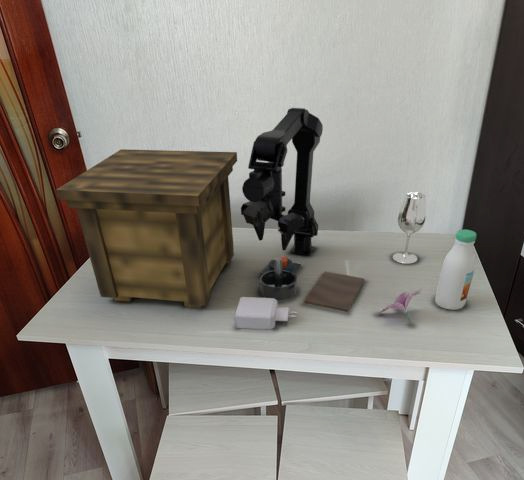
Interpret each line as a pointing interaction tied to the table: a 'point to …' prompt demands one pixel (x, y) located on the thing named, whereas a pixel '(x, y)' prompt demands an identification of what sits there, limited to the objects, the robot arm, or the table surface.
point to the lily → (401, 302)
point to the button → (284, 261)
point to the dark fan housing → (278, 292)
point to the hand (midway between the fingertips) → (272, 244)
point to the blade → (278, 272)
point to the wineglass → (411, 222)
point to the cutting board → (335, 291)
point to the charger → (260, 313)
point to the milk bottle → (457, 272)
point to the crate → (156, 222)
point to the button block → (290, 267)
